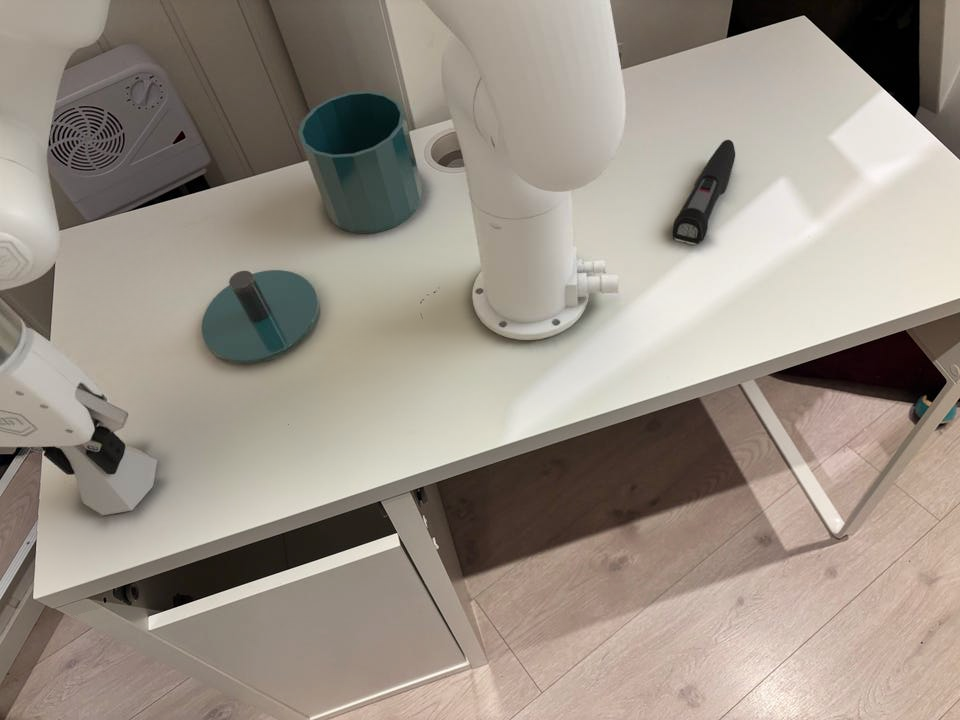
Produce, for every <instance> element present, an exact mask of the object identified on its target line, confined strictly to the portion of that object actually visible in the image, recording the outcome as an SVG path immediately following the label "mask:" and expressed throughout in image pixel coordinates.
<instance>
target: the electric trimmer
mask: <svg viewBox="0 0 960 720" xmlns="http://www.w3.org/2000/svg"><path fill="white" fill-rule="evenodd" d="M735 159H736V149H735V145H734V142H733V140H731V139H725V140H723V141H722V142H721V143H720V144H719V146H718V147H717V148H716V150H715V151H714V152H713V154H712V156H710V158H709V160H708V162H707V163H706V164H705V166H704V168H703V169H702V171H701V173H700V174H699V176H698V177H697V180H696V181H695V183H694V186H693V189H692V190H691V192H690V194H689V195H688V197H687V198H686V201H685V203H684V204H683V206H682V208H681V210H680V211H679V213H678V215H677V216H676V217H675V219H674V222H673V225H672V237H673V240H675V241H678V242H680V243H681V242H682V243H686V244H689V245H694V246H695V245H698V244H700V242H703V241H704V239H705V237H706V235H707V232H708V227H709V220H710V217H711V215H712V212H713V210H714V208H715V205H716V203H717V200H718V199H719V197H720V196H721V195H723V194H725V192H726V191H727V187H728V185H729V181H730V177H731V175H732V170H733V167H734V163H735Z"/></svg>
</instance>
